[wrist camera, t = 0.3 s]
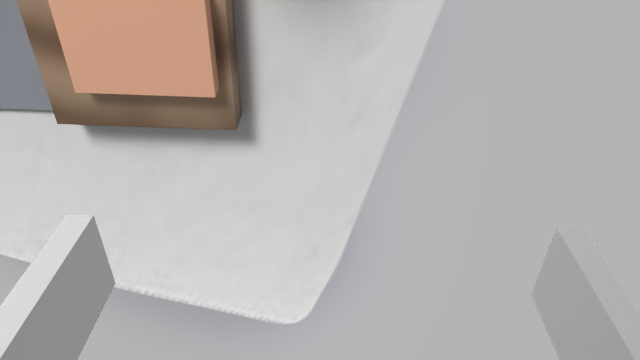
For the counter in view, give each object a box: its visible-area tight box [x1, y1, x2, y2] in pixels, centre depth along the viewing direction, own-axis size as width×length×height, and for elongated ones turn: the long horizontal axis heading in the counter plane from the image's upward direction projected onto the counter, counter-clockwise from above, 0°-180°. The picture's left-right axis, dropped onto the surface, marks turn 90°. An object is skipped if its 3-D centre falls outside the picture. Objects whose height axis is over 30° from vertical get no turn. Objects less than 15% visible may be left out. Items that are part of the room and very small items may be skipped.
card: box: [48, 0, 219, 98], centre depth 33 cm, size 7×10×2 cm
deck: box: [16, 0, 241, 130], centre depth 34 cm, size 14×14×2 cm
